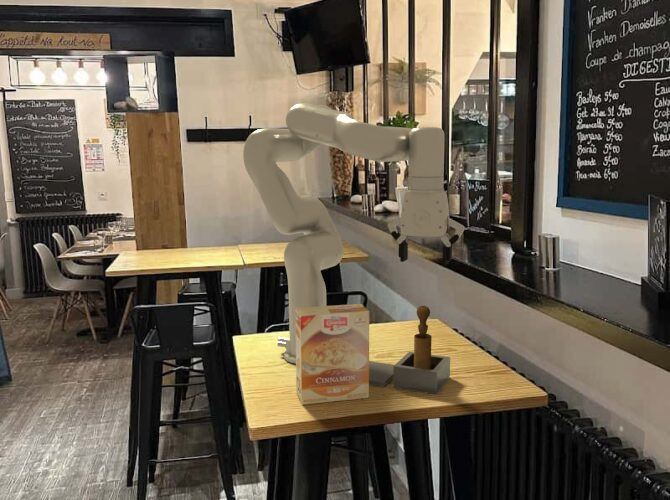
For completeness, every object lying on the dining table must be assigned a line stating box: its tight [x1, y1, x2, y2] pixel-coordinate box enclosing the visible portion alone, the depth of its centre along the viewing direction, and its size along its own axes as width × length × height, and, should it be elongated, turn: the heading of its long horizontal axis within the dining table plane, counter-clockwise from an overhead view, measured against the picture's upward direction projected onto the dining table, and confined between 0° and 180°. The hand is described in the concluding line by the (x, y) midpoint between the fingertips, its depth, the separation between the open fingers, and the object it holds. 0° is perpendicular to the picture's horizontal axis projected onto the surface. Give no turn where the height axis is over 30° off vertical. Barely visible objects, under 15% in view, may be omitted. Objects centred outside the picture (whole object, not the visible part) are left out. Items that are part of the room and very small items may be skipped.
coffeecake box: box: [295, 303, 370, 406], centre depth 135 cm, size 15×7×20 cm, turn 103°
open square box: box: [392, 351, 451, 395], centre depth 143 cm, size 10×11×5 cm
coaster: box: [369, 360, 395, 387], centre depth 148 cm, size 10×12×1 cm
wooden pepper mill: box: [413, 305, 433, 370], centre depth 142 cm, size 7×6×18 cm
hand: (424, 262), depth 139 cm, fingers open, 9 cm apart
